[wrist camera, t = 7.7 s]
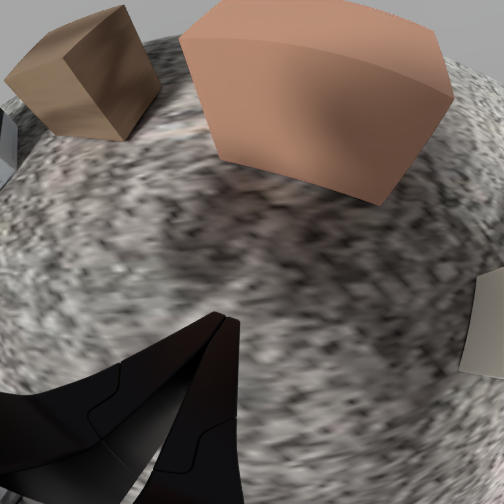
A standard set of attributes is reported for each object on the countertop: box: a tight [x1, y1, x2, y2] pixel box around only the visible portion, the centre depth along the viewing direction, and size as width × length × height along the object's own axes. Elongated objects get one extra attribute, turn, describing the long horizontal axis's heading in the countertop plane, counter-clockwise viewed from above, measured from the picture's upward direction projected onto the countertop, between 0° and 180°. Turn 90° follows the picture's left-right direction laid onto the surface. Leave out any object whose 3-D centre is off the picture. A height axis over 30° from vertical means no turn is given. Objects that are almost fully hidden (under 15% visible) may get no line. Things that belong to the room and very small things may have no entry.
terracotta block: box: [179, 0, 454, 206], centre depth 12 cm, size 6×10×9 cm, turn 70°
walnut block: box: [4, 5, 162, 142], centre depth 15 cm, size 6×10×9 cm, turn 70°
